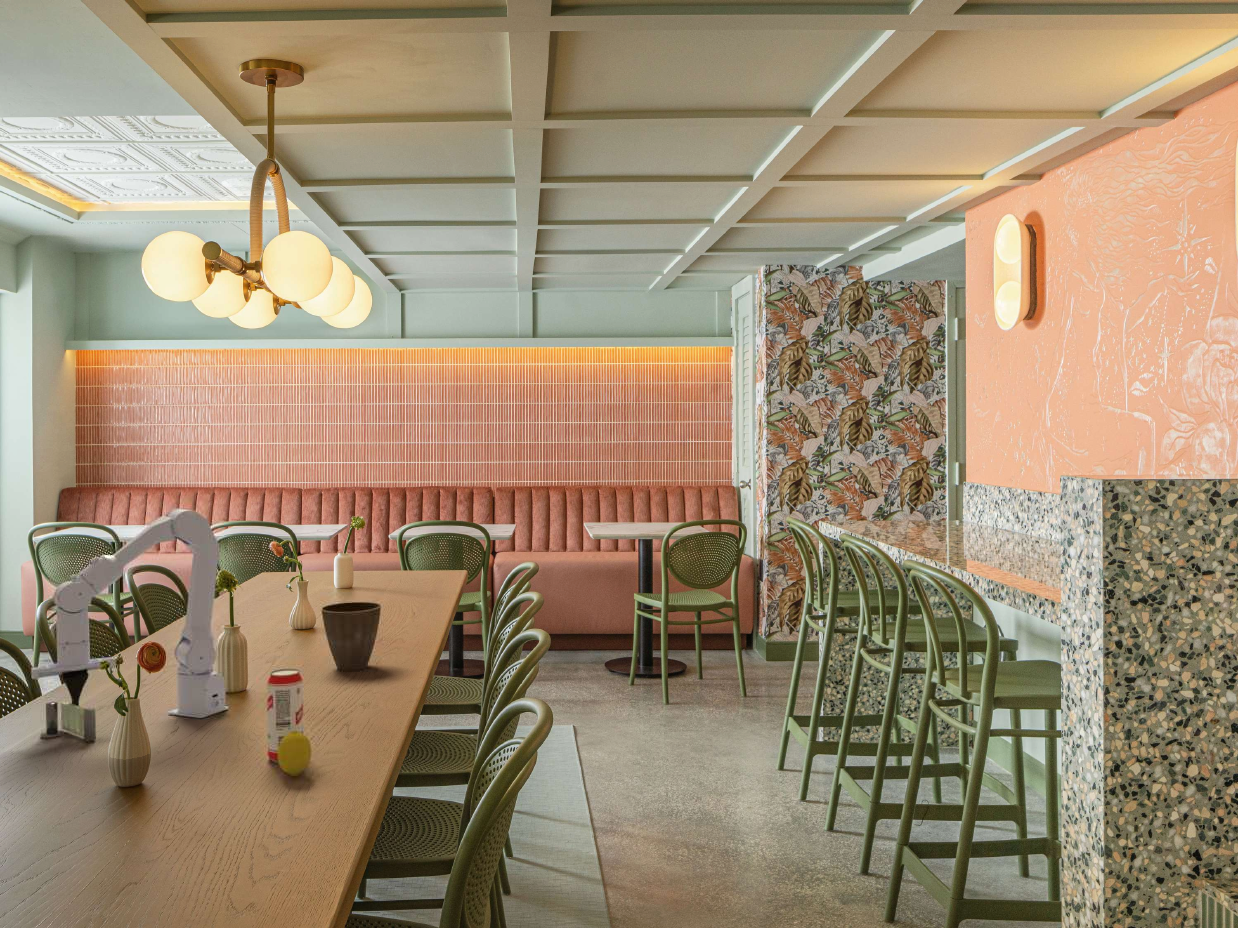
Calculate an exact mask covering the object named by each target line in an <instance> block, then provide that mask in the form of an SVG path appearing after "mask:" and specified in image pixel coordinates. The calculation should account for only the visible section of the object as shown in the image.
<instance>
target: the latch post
mask: <svg viewBox="0 0 1238 928" xmlns="http://www.w3.org/2000/svg"><path fill="white" fill-rule="evenodd" d="M58 711H59V709H58V702H57V701H51V702H46V703H45V726H46V727H45V729H46V730H45V731H43V732H42V733H40V735H39V737H40V739H43V740H49V739H56V738H60V737H63V736H64V735H65V730H62V729H59V719H58V718H59V717H58V716H59V715H58V714H59V713H58Z"/></svg>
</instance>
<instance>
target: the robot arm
mask: <svg viewBox="0 0 1238 928" xmlns="http://www.w3.org/2000/svg"><path fill="white" fill-rule="evenodd" d="M210 525H211V524H210V522H209V520H208V519H207V518H206V517H205V516H204V515H202V514H201V513H199V512H198V511H196V510H193V509H188V510H187V509H184V508H173V509H171V510H169V511H168V512H167V513H166V514H165V515H162V516H160V517H158V518H157V519H155V520H154V521H153V522H151V523H150V524H149V525H148V526H147V527H145V528H144V529H143V530H142V531H140V532H139V533H138V534H136V536H135V537H133V538H132V539H131V540H129V541H128V542H127V543H126V544H125V545H123V546H122V547H121V548H120V549H118V551H116V552H115V553H113V555H112V554H111V555H107V554H102V555H101V556H99V557H98V556H95V557H93V558H91V559H90V562H91V563H90V564H89V565H88V566H86V567H85V568H83V569H82V570H81V571H80V572H78V573H77V574H76V573H75V574H74V573H73V574H72V575H70V576H69V579H70V581H64V582H62V583H61V584H59V585H58V586H57V587H56V589H55V591H54V593H53V596H52V601H53V603H54V605H56V606H57V607H56V614H55V615H56V621H55V622H56V623H55V626H56V627H55V628H56V629H55V630H56V656H57V657H56V658H57V660H56V661H57V662H55V663H53V664H45V665H42V666H37V667H36V666H35V667H31V671H30V672H31V674H30V675H31V679H32V680H39V679H41V678H48V677H54V676H60V677H61V679H62V680H63V683H64V684H65V686H66V688H67V690H68V693H69V695H70V699H71V704H74V705H77V706H80V698H81V694H82V692H83V689H84V686H85V685H86V683H87V681H88V678H89V672H88V671H96V670H102V669H101V668H100V667H99V666H98V665H99V664H100V662H104V661H107V660H109V661H110V668H109V669H114V668H116V658H115V657H114V656H109V657H100V658H99V657H97V658H91V650H90V643H91V641H90V618H89V611H88V610H89V606H90V605H91V603H92V599H93V597H97V596H98V595H100V594H101V593H102V592H104V591H105V590H106V589H107V588H109V587H110V586H111V585H112V584H114V583H115V582H117V580H119V579H120V578H121V577H123V574H124V568H125V567H126V566H128V565H129V564H130V563H131V562H133V561H135V559H138V557H140V556H142V555H143V554H144V553H145V552H147V551H149V550H150V549H151V548H153V547H154V546H155V545H156V544H159V543H165V542H170V541H171V542H172V541H176V540H178V541H180V542H181V543H183V544H184V545H185V546H186V547H187V548H188V549H189V550H190V551H191V552H192V562H191V570H190V571H191V572H190V581H189V589H188V590H189V591H188V599H187V606H186V615H185V617H186V618H185V624H184V627H183V629H182V630H181V633H180V638H179V641H178V643H177V644H176V646H175V647H174V658H175V660H176V661H177V662H178V664H179V666H178V668H177V671H176V681H177V682H176V683H177V687H176V690H177V692H176V693H177V696H176V697H177V699H176V700H177V701H176V702H177V708H176V709H172V710H168V711H167V713H168V715H175V716H180V717H181V716H182V717H190V718H198V719H201V718H202V719H203V718H205V717H208V716H209V717H210V716H212V715H214V714H218V713H220V712H223V711H225V710H226V711H227V710H228V709H229V706H226V679H225V677H224V676H223V675H222V674H221V673H219V672H216V671H215V670H214V664H215V663H216V659H217V652H216V650H215V647H214V634H213V631H212V617H213V610H214V609H213V608H214V599H215V598H214V597H215V591H216V581H217V573H218V566H219V565H218V564H219V555H220V554H219V553H220V544H219V542H218V539H217V538H216V535H215V534H214V532H213V530H212V528H211V527H210Z"/></svg>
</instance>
